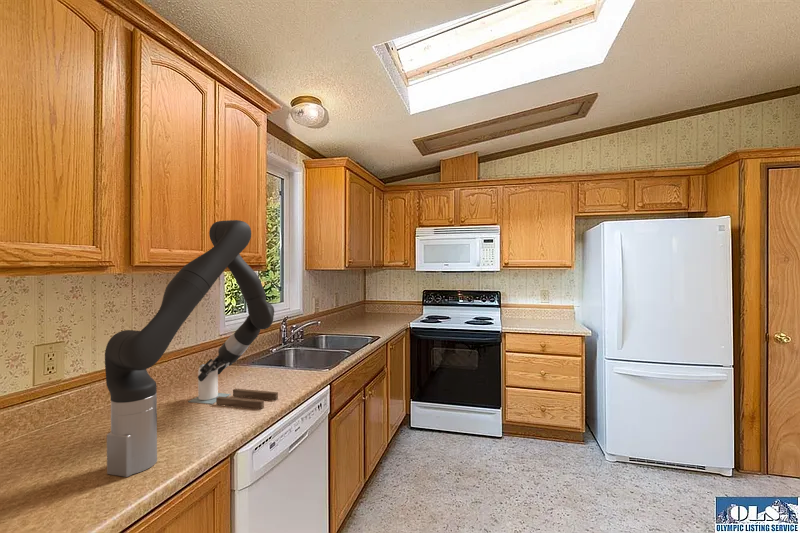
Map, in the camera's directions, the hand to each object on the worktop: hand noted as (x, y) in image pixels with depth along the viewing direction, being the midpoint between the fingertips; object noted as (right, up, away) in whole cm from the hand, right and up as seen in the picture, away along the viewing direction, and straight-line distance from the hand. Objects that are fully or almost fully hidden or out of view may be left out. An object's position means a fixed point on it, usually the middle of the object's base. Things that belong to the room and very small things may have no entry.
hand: (208, 376), depth 139 cm
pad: (+1, -8, 0) cm, 8 cm away
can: (0, -8, 0) cm, 8 cm away
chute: (+16, -8, -4) cm, 19 cm away
